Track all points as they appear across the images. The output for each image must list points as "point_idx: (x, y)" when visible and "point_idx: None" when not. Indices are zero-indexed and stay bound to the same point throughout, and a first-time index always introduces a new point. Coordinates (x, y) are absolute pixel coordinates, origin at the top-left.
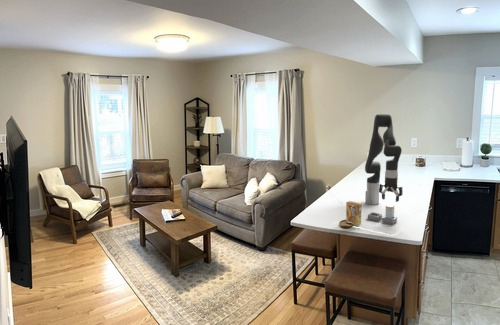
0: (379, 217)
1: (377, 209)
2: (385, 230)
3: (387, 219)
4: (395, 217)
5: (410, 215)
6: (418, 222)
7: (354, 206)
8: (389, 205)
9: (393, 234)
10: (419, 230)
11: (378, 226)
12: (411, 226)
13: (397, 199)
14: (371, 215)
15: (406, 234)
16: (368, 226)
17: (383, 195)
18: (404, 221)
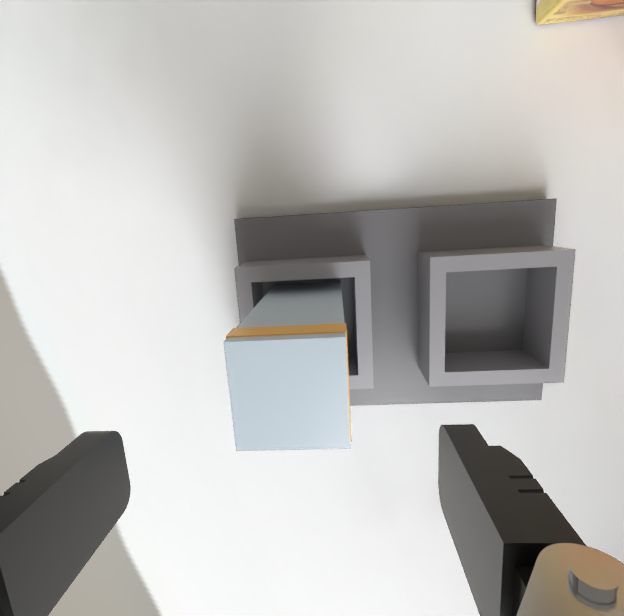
0: (424, 307)
1: None
2: (243, 71)
3: (303, 263)
4: None
5: (259, 613)
6: None
7: None
8: (305, 404)
9: (126, 10)
10: (20, 303)
11: (356, 140)
12: (119, 358)
13: (34, 481)
14: (520, 255)
15: (41, 111)
16: (446, 58)
17: (493, 505)
18: (227, 445)
